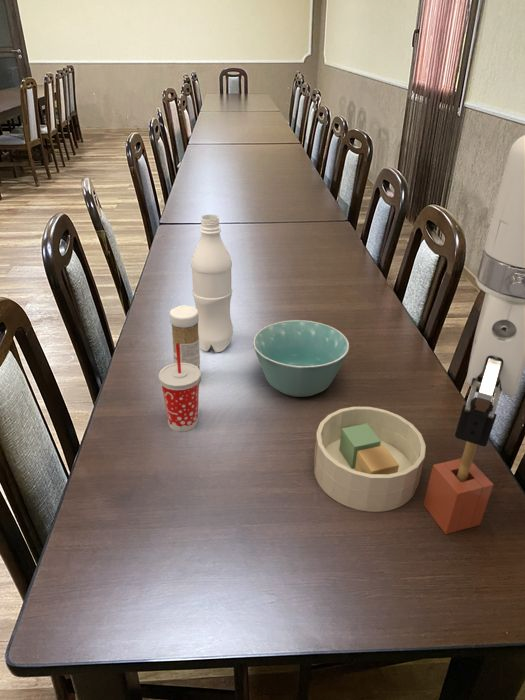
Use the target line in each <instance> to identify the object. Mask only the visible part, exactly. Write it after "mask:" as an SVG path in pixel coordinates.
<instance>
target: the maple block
mask: <svg viewBox="0 0 525 700" xmlns="http://www.w3.org/2000/svg"><path fill="white" fill-rule="evenodd" d="M398 468H399V464H398V463H397V462H396V460H395V459H394V458H393V456H392V455H391V454H390V453H389V451H388V450H387V449H386V447H385V446H384V445H383V446H379V447H374V448H369V449H365V450H360V451H357V458H356V465H355V471H359V472H363V473H368V474H387V475H388V474H392V473H397V472H398Z"/></svg>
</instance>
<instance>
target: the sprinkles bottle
mask: <svg viewBox="0 0 525 700" xmlns="http://www.w3.org/2000/svg"><path fill="white" fill-rule="evenodd" d="M169 320H170V321H169V322H170V324H171V332H172V333H171V335H172V352H173V353H172V354H173V364H174V363H177V352H176V344H177V343H179V348H180V362H181V363H189V364H193V365H195V366H197V367H198V368H199V370H200V371H201V366H200V365H201V357H200V356H201V353H200V352H201V351H200V350H201V349H200V347H199V336H198V321H199V314H198V310H197V309H196V306H192V305H186V304H183V305H178V306H175V307H173V308H172V309H171V310H170V311H169ZM200 378H201V379H202V376H201V377H200ZM200 382H201V380H200V381H199V383H200Z"/></svg>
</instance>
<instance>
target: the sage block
mask: <svg viewBox="0 0 525 700" xmlns="http://www.w3.org/2000/svg"><path fill="white" fill-rule="evenodd" d="M380 444H381V441H380V439H379V438H378V437H377V435H376V434H375V433H374V431H373V430H372V429H371V428H370V426H369V425H368V424H362V425H357V426H352V427H347V428H342V432H341V440H340V448H339V450H340V452H341V454H342V455H343V457H344V458H345V460H346V461H347V463H348V464H349V466H350V467H351V469H353V468H355V465H356V458H357V451H360V450H365V449H369V448H374V447H379V446H380Z"/></svg>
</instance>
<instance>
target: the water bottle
mask: <svg viewBox="0 0 525 700" xmlns="http://www.w3.org/2000/svg"><path fill="white" fill-rule="evenodd" d="M200 224H201V225H200V228H199V232H200V240H199V241H198V244H197V246H196V247H195V250H194V252H193V254H192V256H191V261H190V268H191V278H192V279H191V280H192V291H191V293H192V297H193V300H194V305H195V308H196V309H197V310H198V314H199V321H198V336H199V349H200V350H202V351H204V352H208V351H209V350H210V348H211V347H212V349H213V351H214V353H220V352H223V351H225V350H226V348H227V347H229V346H230V344H231V342H232V340H233V337H234V326H233V325H234V324H233V322H232V317H231V299H232V295H233V288H232V267H233V262H232V257H231V254H230V253H229V251H228V249H227V247H226V246H225V244H224V242H223V240H222V238H221V232H222V230H221V225H220V217H219V216H218V215H216V214H205V215H202V216H200Z"/></svg>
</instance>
